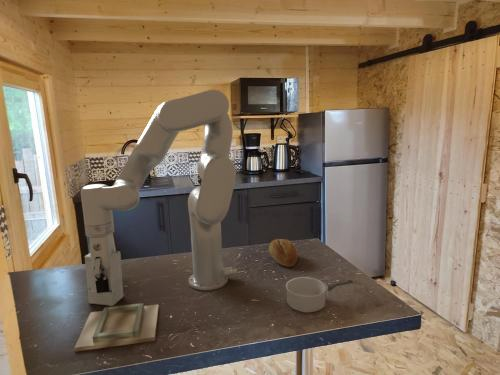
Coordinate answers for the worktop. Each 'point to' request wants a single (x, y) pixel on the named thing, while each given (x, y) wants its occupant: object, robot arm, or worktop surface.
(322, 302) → the saucepan
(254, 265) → the worktop surface
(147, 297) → the worktop surface
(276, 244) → the bread roll
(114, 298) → the skincare box
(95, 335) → the nest board
